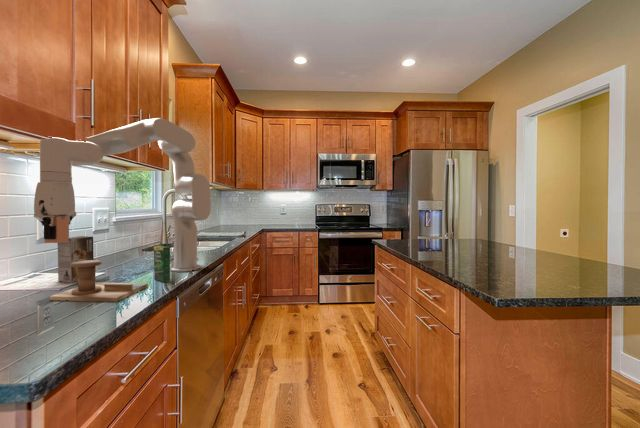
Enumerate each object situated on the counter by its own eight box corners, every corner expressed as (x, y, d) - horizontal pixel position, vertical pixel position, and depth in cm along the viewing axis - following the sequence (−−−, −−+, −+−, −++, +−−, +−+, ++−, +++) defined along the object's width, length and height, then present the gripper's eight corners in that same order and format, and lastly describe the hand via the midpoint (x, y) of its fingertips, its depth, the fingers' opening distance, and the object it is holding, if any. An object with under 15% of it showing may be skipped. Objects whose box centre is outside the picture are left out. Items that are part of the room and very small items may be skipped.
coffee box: (80, 276, 124) (80, 235, 124) (94, 277, 123) (94, 236, 122) (57, 281, 115) (56, 238, 115) (71, 282, 114) (71, 238, 113)
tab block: (55, 241, 99) (55, 215, 98) (68, 241, 99) (68, 215, 98) (44, 242, 95) (44, 215, 94) (57, 242, 95) (57, 216, 94)
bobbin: (83, 288, 103) (83, 260, 102) (107, 288, 103) (107, 260, 102) (65, 294, 95) (64, 264, 95) (90, 295, 95) (89, 264, 95)
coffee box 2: (153, 279, 121) (153, 245, 121) (160, 278, 124) (160, 244, 123) (162, 282, 116) (162, 247, 116) (170, 281, 118) (170, 247, 118)
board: (91, 285, 110) (91, 276, 110) (148, 286, 110) (148, 277, 110) (49, 300, 93) (49, 289, 93) (116, 301, 93) (116, 291, 93)
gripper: (67, 180, 105) (67, 235, 105) (17, 176, 88) (18, 241, 88) (89, 181, 104) (89, 235, 105) (43, 176, 88) (44, 241, 88)
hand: (56, 237), depth 97 cm, fingers closed on tab block, 4 cm apart
